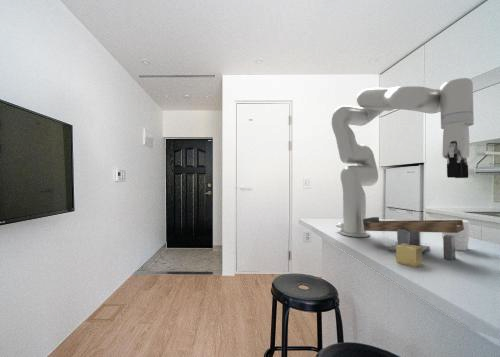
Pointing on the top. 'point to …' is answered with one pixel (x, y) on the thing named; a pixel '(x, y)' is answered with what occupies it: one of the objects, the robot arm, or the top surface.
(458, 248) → the white cup
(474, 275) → the top surface
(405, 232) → the pivot stand
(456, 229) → the beam
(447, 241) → the block
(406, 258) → the block
